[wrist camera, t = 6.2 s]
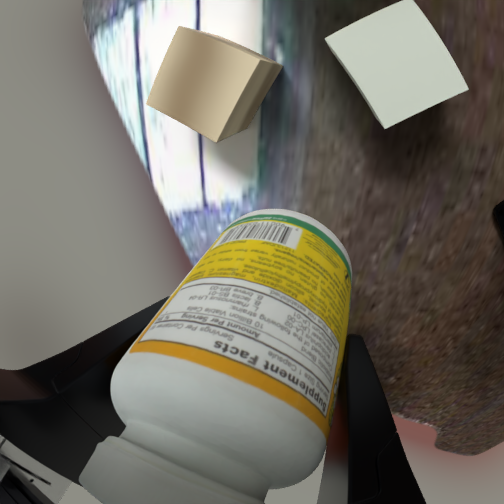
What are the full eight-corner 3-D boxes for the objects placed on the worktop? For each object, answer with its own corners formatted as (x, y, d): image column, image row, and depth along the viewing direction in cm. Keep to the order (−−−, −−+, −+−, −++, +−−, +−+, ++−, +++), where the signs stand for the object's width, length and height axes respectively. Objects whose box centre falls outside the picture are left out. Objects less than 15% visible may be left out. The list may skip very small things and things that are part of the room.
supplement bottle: (274, 173, 9) (38, 478, 2) (382, 276, 10) (346, 575, 2) (196, 262, 13) (51, 454, 5) (287, 336, 13) (207, 537, 6)
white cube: (440, 87, 13) (468, 89, 9) (376, 118, 15) (384, 129, 12) (396, 18, 11) (410, -3, 7) (331, 51, 14) (324, 38, 10)
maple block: (283, 65, 16) (260, 59, 12) (247, 128, 19) (216, 142, 15) (218, 35, 15) (178, 26, 11) (188, 96, 18) (146, 104, 14)
